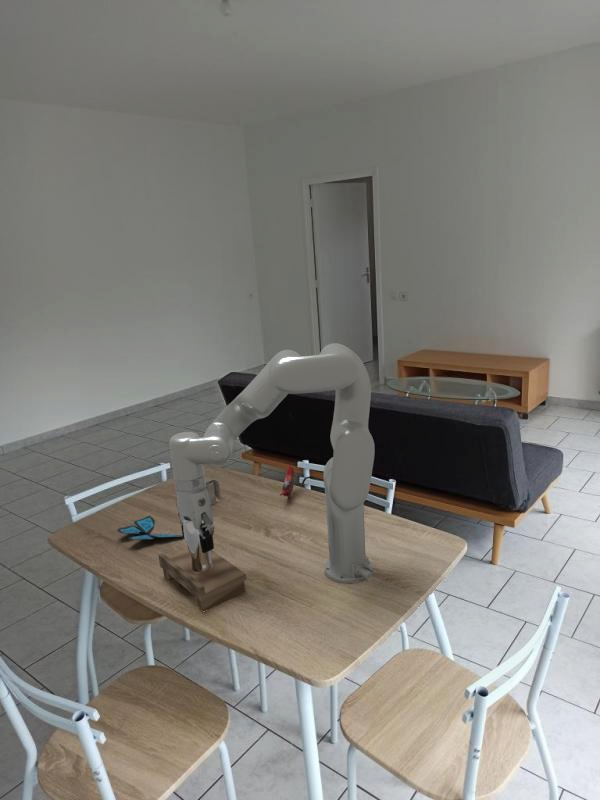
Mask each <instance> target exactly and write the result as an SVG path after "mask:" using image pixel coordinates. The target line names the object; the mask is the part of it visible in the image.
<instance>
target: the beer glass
mask: <svg viewBox="0 0 600 800" xmlns="http://www.w3.org/2000/svg"><path fill="white" fill-rule="evenodd" d="M182 518H183V524H182V525H183V532H184V538H185V539H184V541H185V544H186V548H187V549H188V551H189V554H190V559H191V563H190V570H191V572H192V573H194V574H205V573H208V572H210V571H211V570H212V569H213V568H214V563H213V560H212V557H211V550H210V551H208V552H206V553H203V552H202V549H201V541H200V538H202V537H201V535H200V533H199V531H198V530H197V529H195V528H194V525H193V522H192V521H188V520H185V519H184V516H183V517H182ZM202 525H205V523H204V521H203V520H202V522H201V525H200V526H202ZM202 530H203V532H204V533H205V531H206V530H207V528H203V529H202Z"/></svg>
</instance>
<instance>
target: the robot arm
mask: <svg viewBox="0 0 600 800" xmlns="http://www.w3.org/2000/svg"><path fill="white" fill-rule="evenodd" d="M329 391H335V398H334V399H335V400H334V409H333V410H334V411H333V419H332V424H331V429H330V444H331V447H332V449H333V455H332V456H333V457H331V458H329V460H328V461H327V462H326V464H325V466H324V469H323V474H322V475H323V486H324V495H325V505H326V507H325V509H326V525H327V541H328V559H327V560H326V561H325V563H324V566H323V570H324V571H323V572H324V574H325V575H326V576H327V577H328V578H329V579H330V580H332V581H335V582H338V583H343V584H353V583H358V582H361V581H363V580H365V579H367V581H368V580H372V578H373V574H374V573H375V571H376V567H374V566H373V564H372V562H371V560H370V558H369V557H368V556H366V554H367V553H366V534H365V532H366V530H365V506H364V502H365V501H366V500H367V498H368V496H369V492H370V487H371V481H372V476H373V475H372V474H373V467H374V463H375V462H374V461H375V452H376V451H375V442H374V439H373V436H372V434H371V433H370V432H371V431H370V430H369V418H370V408H371V399H372V398H371V396H372V387H371V380H370V375H369V373H368V370H367V368H366V366H365V364H364V362H363V360H362V359H361V358H360V357H359V355H357V353H355V351H354V350H352V349H351V348H349V347H348V346H346V345H344V344H341V343H336V342H334V343H329V344H327V345H325V346H323V348H322V349H321V351H320V352H319V354H315V355H305V356H303V355H300V353H298V352H297V351H295V350H292V349H284V350H281V351H279V352H277V353H276V354H275V355H273V357H272V358H271V359H270V360H269V361H268V362H267V363H266V365H265V366H264V367H263V368H262V369H261V370H260V372H258V373H257V374H256V376H255V377H254V378H253V379H252V380H251V381H250V383H249V384H247V386H245V388H244V389H243V390H242V391H241V392H240V393H239V394H238V395H237V396H236V397H235V398H234V399H233V400H232V401H231V402H230V403H228V404H227V406H226V407H225V408H224V409H223V410H222V411H221V412H220V413H219V414H218V416H217V417H215V419H213V421H212V422H211V423H210V424H209V426H208V427H207V429H206V430H205V432H204V435H203V436H200V435H199V434H198V433H196V432H194V431H184V432H183V431H182V432H179V433H176V434H173V435H172V436H171V437H170V439H169V451H170V459H171V466H172V472H173V480H174V488H175V491H176V500H177V501H176V502H177V504H176V505H175V506H176V509H177V513H178V517H179V523H180V527H181V534H182V535H181V536H183V537H182V539H183V540H185V538H184V532H183V518H182V517H183V516H184V519H185V520H188V521H192V522H193V525H194V528H195V529H197V530H198V531H199V533H200V535H201V537H202V538H200V541H201V549H202V552H203V553H206V552H208V551H210V550H213V551H214V549H215V545H214V538H213V537H214V533H215V524H214V515H213V514H214V513H213V509H212V504H211V503H210V499H209V495H208V492H207V489H206V488H205V487H206V482H207V481H206V472H205V466H204V465H206V466H208V465H209V466H220V465H224V464H226V463H227V462H228V461H229V460H230V458H231V457H232V455H233V446H234V443H235V441H236V439H238V438H239V436H241V434H242V433H244V431H245V430H246V429H247V428H248V427H249V426H250V425H251V424H252V423H253V422H255V421H257V420H260V419H264V418H266V417H268V416H270V414H271V413H272V412H273V411H274V410H275V409H276V408H277V407H278V405H279V404H280V403H281V402H282V401H283V400H284V399H285V398H286V397H287V396H288V395H289V394H291V395H292V394H293V395H295V394H297V395H298V394H300V395H301V394H309V393H310V394H311V393H320V392H329ZM202 520H203V521H204V523H205V525H202V526H200V525H201V522H202ZM203 528H207V530H206V531H205V533H204V532H203V530H202V529H203Z"/></svg>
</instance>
